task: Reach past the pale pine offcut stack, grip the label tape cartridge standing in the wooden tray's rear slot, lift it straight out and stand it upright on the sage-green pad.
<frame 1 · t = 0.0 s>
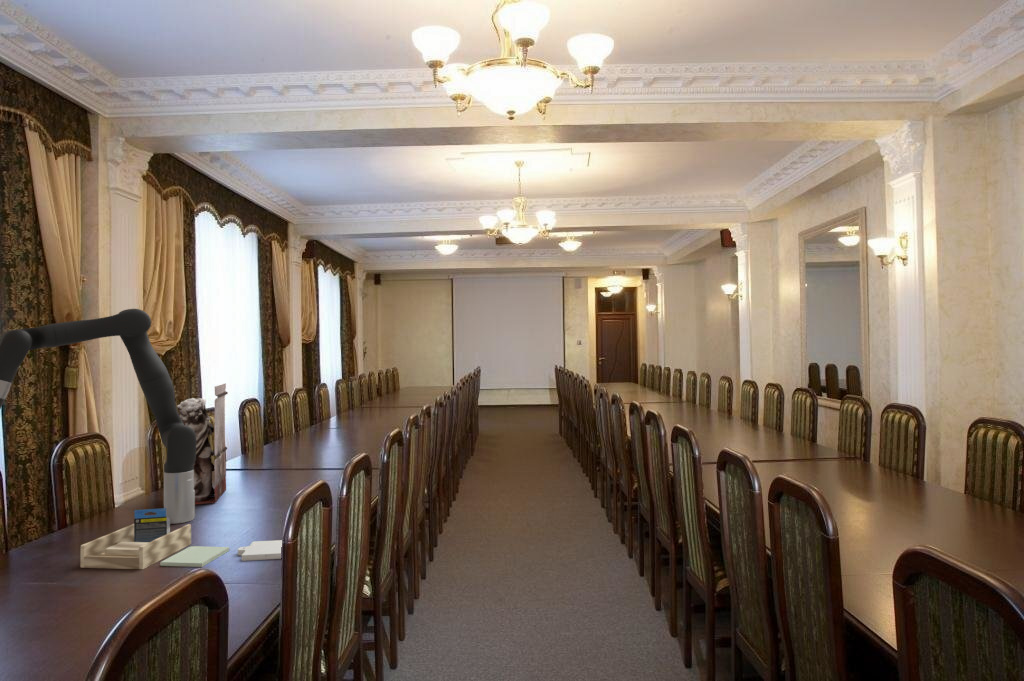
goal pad: (196, 557, 181), on the table
cherub statue: (197, 499, 252), on the table
wooden tray: (138, 555, 184), on the table
offcut stack: (128, 561, 179), resting in wooden tray
mounting plate: (270, 554, 186), on the table
label tape cartridge: (152, 549, 189), resting in wooden tray
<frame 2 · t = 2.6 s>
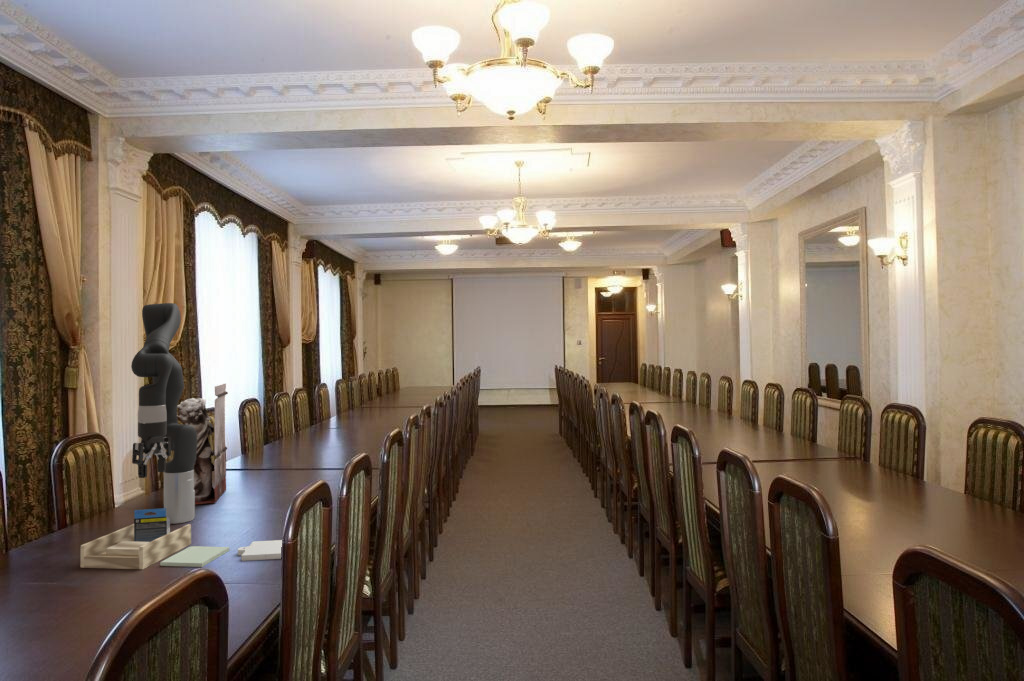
hand: (152, 474, 190), 22 cm above the table, tool pointing down, fingers open, 8 cm apart
nothing on the table moved.
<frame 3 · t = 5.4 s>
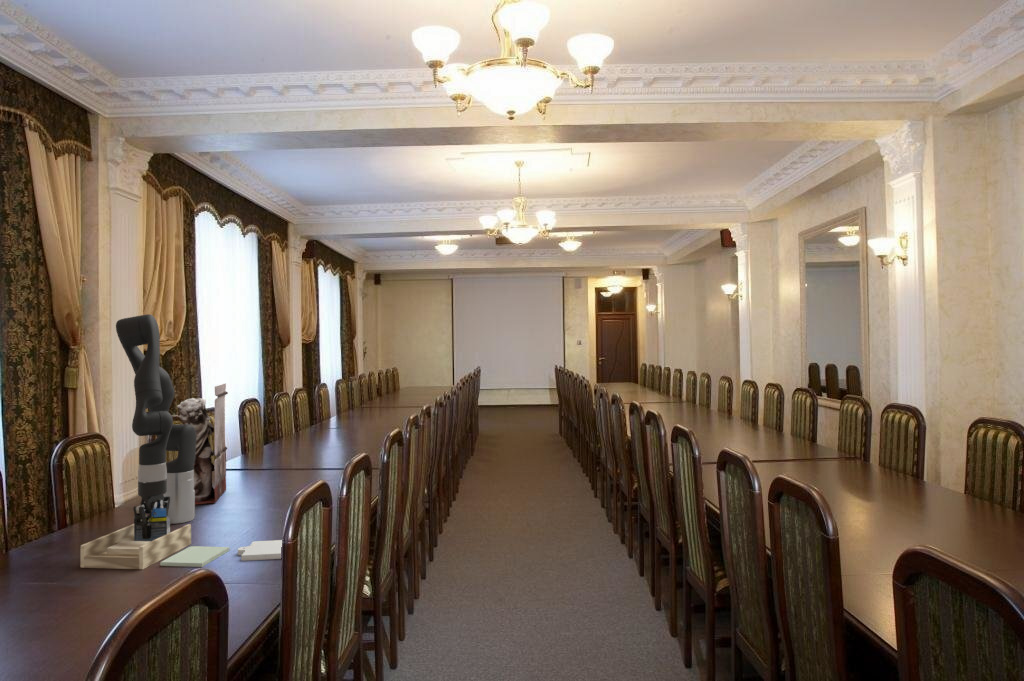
hand: (152, 535, 190), 4 cm above the table, tool pointing down, fingers closed on label tape cartridge, 4 cm apart
label tape cartridge: (152, 549, 189), resting in wooden tray, touching gripper
everything else where it was.
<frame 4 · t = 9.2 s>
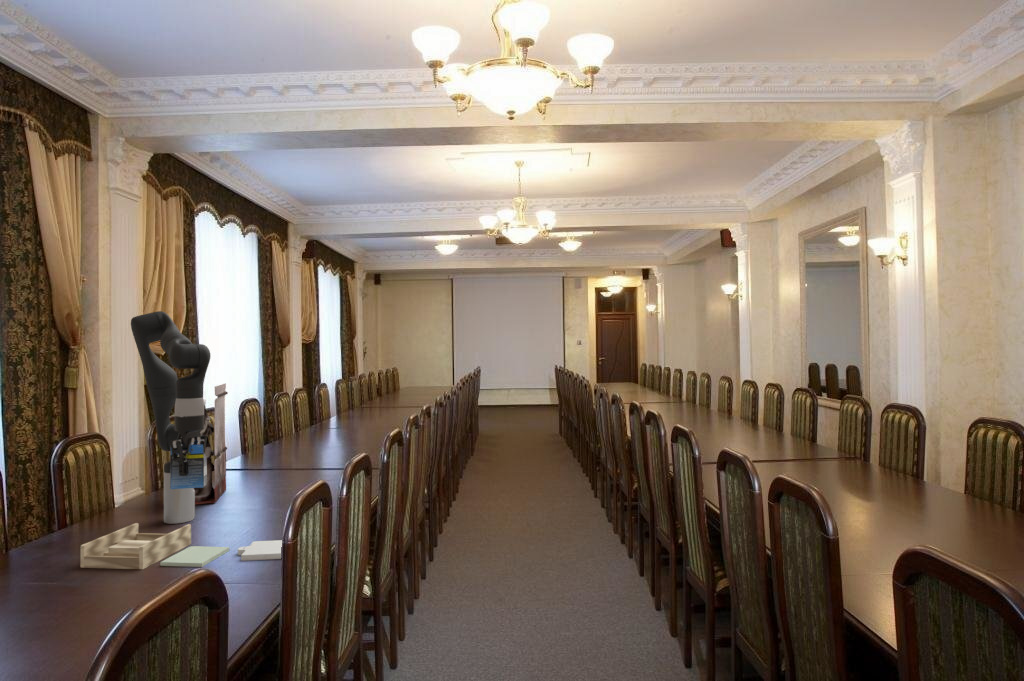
hand: (189, 473, 181), 24 cm above the table, tool pointing down, fingers closed on label tape cartridge, 4 cm apart
label tape cartridge: (188, 488, 181), point 20 cm above the table, touching gripper
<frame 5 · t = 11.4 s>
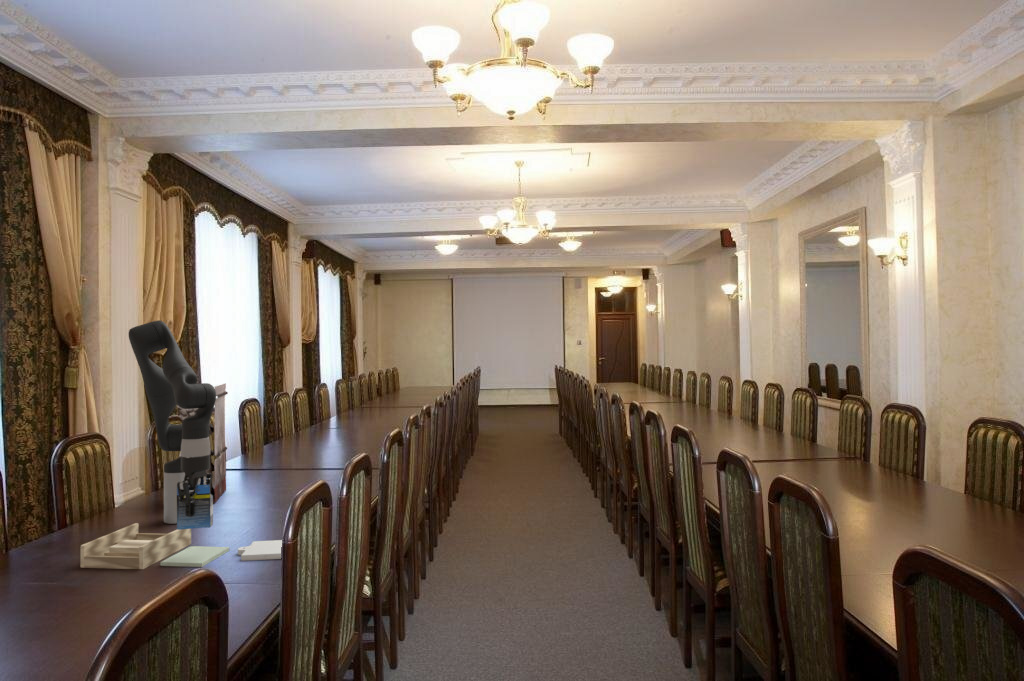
hand: (195, 513, 181), 13 cm above the table, tool pointing down, fingers closed on label tape cartridge, 4 cm apart
label tape cartridge: (195, 527, 181), point 9 cm above the table, touching gripper
when the fingers open (6 cm above the table, at t = 13.5 s): label tape cartridge drops 1 cm, resting on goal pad.
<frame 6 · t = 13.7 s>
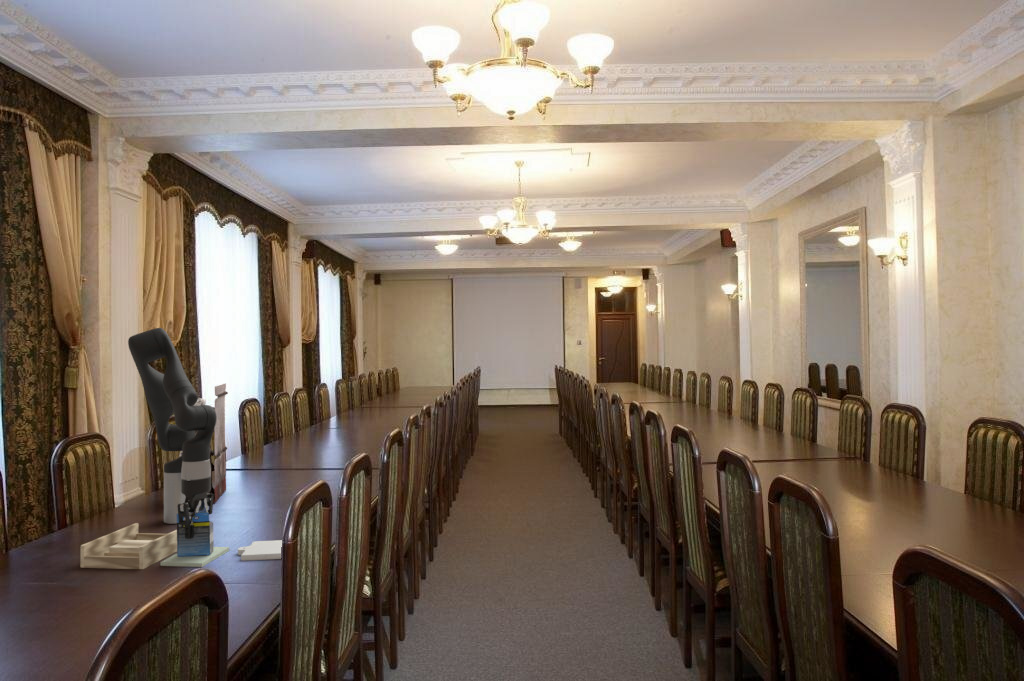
hand: (196, 534, 181), 7 cm above the table, tool pointing down, fingers open, 6 cm apart
label tape cartridge: (195, 554, 181), point 1 cm above the table, touching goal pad
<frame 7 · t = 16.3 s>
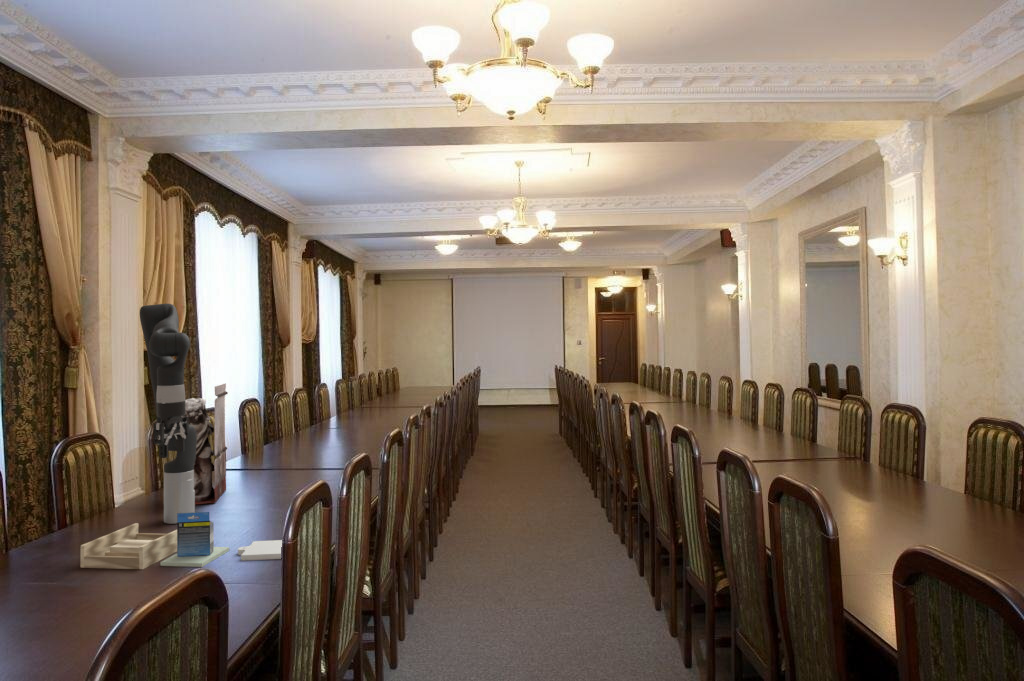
hand: (172, 454, 188), 28 cm above the table, tool pointing down, fingers open, 8 cm apart
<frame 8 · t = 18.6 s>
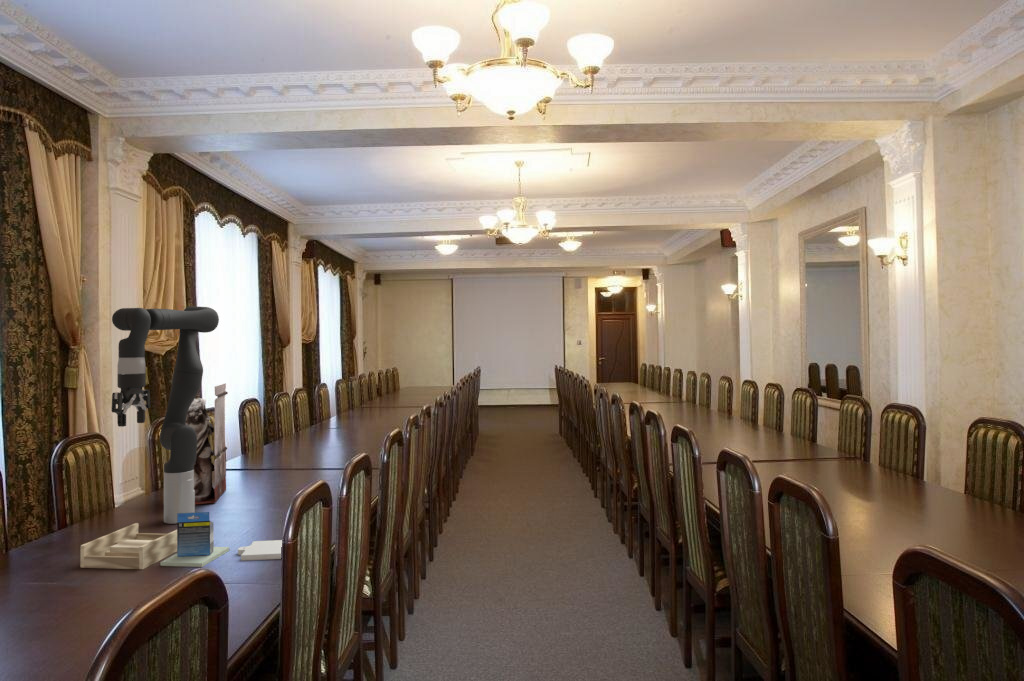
hand: (131, 424, 197), 36 cm above the table, tool pointing down, fingers open, 8 cm apart
at the end: label tape cartridge 0.2 cm off-centre on the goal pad, point 0.8 cm above the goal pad's base; label tape cartridge tilted 0°; the gripper is holding nothing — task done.
